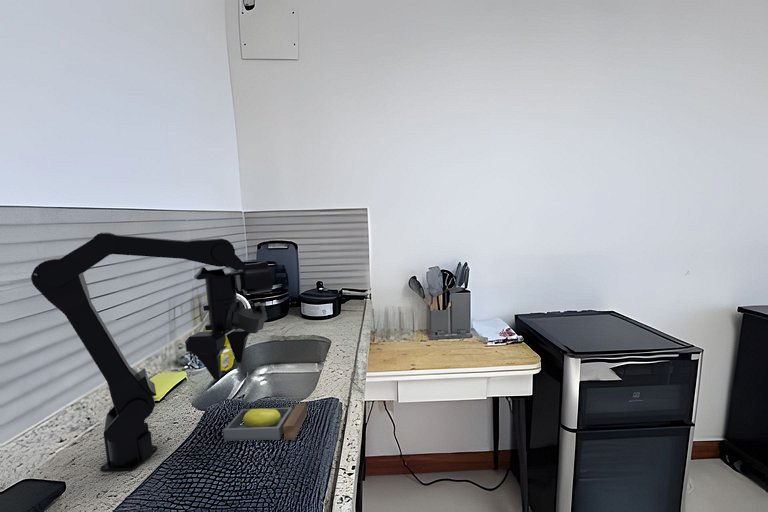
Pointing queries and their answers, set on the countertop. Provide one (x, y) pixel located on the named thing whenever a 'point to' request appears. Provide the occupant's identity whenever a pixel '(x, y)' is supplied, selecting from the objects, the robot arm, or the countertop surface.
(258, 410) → the lemon
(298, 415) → the rail
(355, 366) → the countertop surface
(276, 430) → the tray
